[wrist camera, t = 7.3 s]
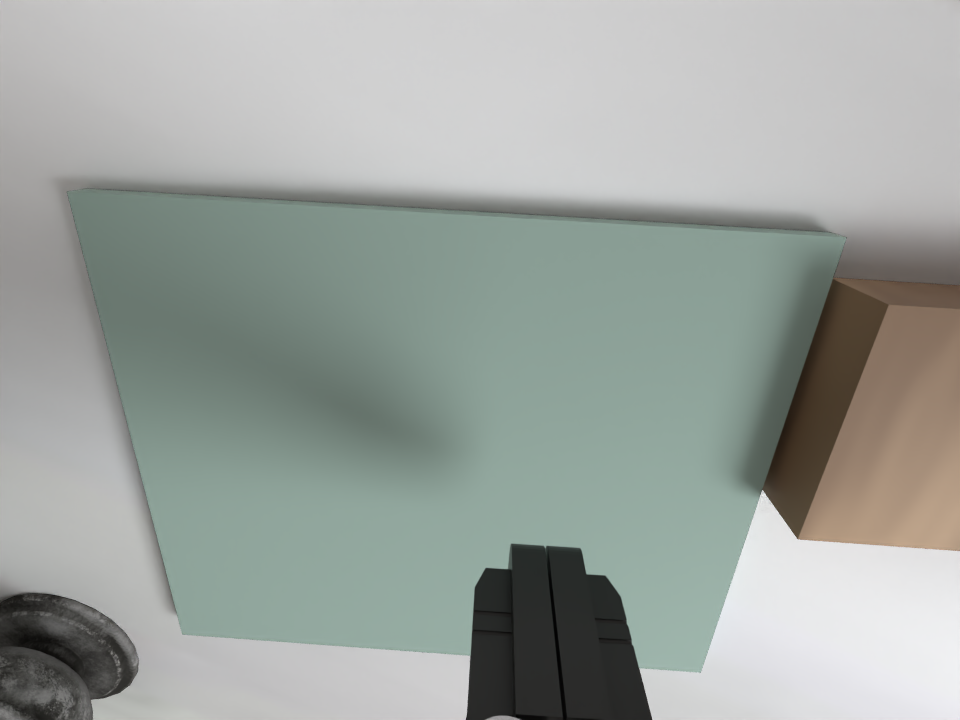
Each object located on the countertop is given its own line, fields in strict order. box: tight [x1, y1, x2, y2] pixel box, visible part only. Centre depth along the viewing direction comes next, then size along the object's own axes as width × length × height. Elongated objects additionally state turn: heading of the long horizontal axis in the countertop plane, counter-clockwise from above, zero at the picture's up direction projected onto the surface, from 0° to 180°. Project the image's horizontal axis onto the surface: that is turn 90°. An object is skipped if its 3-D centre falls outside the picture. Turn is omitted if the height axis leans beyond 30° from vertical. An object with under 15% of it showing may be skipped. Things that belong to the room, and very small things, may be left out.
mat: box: [67, 189, 847, 673], centre depth 15 cm, size 17×14×1 cm
